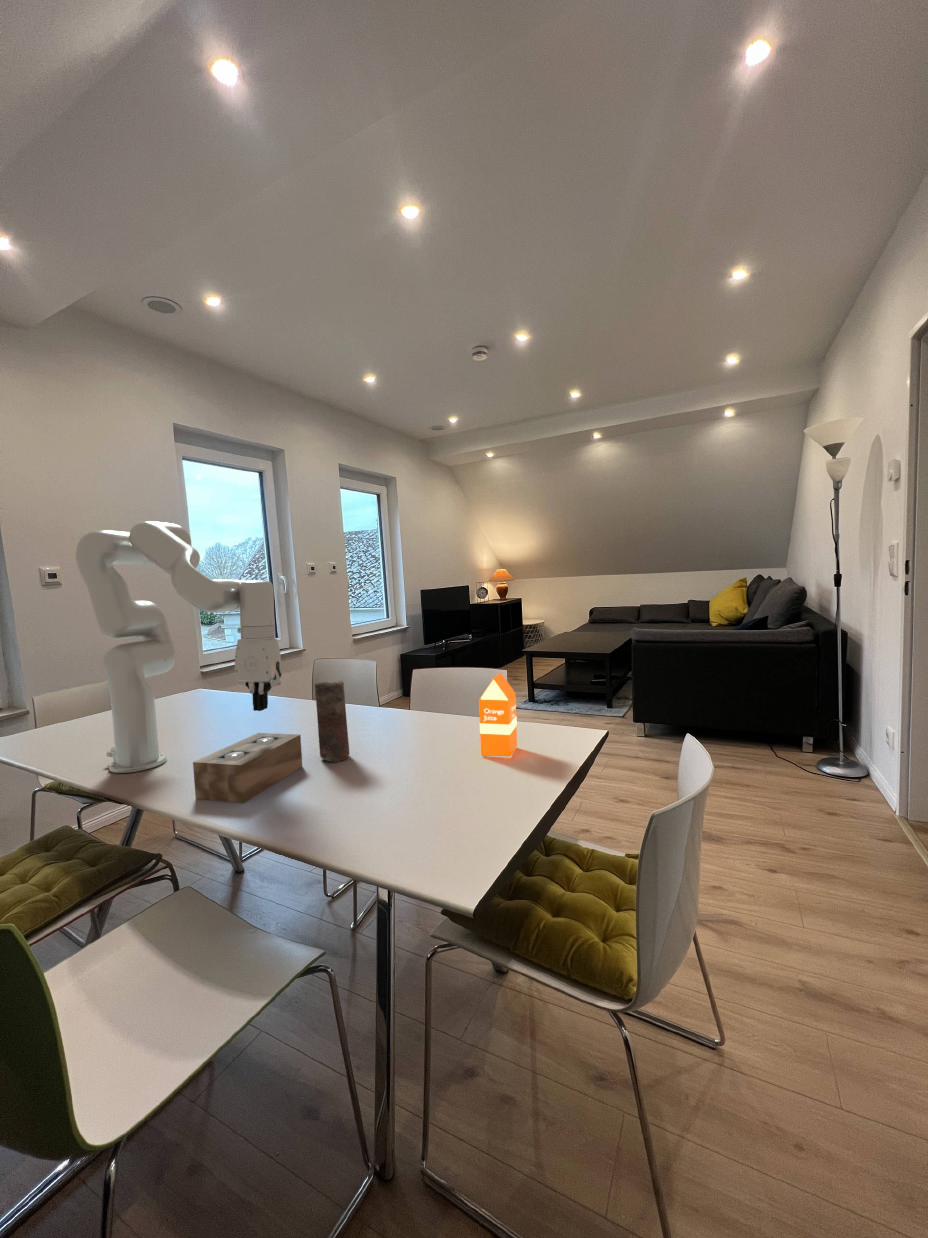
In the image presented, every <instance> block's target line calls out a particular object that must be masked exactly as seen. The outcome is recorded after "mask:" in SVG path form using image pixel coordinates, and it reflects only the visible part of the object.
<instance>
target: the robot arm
mask: <svg viewBox="0 0 928 1238" xmlns="http://www.w3.org/2000/svg"><path fill="white" fill-rule="evenodd" d="M200 556H201V555H200V554H199V550H197V549H196V548H194V547H193V546H192V540H191V536H190V534H189V532H188V531H187V530H186V529H185V528H184V527H182V526H181V525H178V524H175V523H171V522H170V523H169V522H162V521H154V520H153V521H152V520H147V521H140V522H138V523H136V524H134V525H133V526H132V527H131V529H129V531H121V530H120V531H119V530H109V529H108V530H107V529H105V530H104V529H103V530H95V531H89V532H88V533H86V534H84V535H83V536H81V538H80V539H79V541H78V542H77V544H76V548H75V563H76V567H77V569H78V571H79V574H80V576H81V577H82V580H83V581H84V584H85V586H86V588H87V591H88V594H89V599H90V601H91V605H92V608H93V612H94V615H95V618H96V622H97V625H98V627H99V631H100V632H101V634H102V635H103V636H104V637H105V638H106V639H110V640H123V639H132V638H137V639H138V641H133V642H131V641H130V642H126V643H120V644H117V645H114V646H113V647H111V648H109V649H108V650H107V651H106V652H105V654H104V656H103V658H102V669H103V672H104V675H105V678H106V682H107V686H108V691H109V696H110V706H111V707H110V708H111V715H112V716H111V719H112V728H113V730H112V731H113V739H114V747H111V748H110V751H108V752H106V757H108V758H112V760H113V761H112V762H111V763H110V764H109V766H108V768H109V771H110V772H111V773H115V774H129V773H135V772H141V771H145V770H150V769H153V768H156V767H158V766H160V765H162V764H164V763H165V762H166V761H167V755H166V754H165V753H161V752H160V750H159V747H160V746H159V737H158V736H159V735H158V725H157V712H156V711H157V709H156V699H155V693H154V690H153V688H152V686H151V685H150V684H149V682H148V680H147V679H146V678H150V677H153V676H157V675H162V674H165V673H167V672H169V671H170V670H172V668H173V667H174V665H175V662H176V650H175V647H174V642H173V640H172V636H171V633H170V632H171V631H170V629H169V626H168V622H167V620H166V617H165V614H164V612H163V610H162V609H161V607H160V606H159V605H157V604H156V603H154V602H152V601H149V600H134V599H133V598H132V596H131V593H130V590H129V585H128V583H127V581H126V580H125V579H124V577H123V576H122V575H121V573H119V571H117V570H116V569H115V568H114V566H116V565H117V566H119V565H120V566H147V565H152V564H153V565H155V566H156V567H159V568H160V569H161V570H162V571H164V572H165V573H166V574H168V575H169V576H170V582H171V583H172V586H173V588H174V591H176V593H177V594H178V595H179V596H180V597H181V598H182V599H184V600H186V602H188V603H189V604H191V605H192V606H194V607H195V608H196V609H198V610H200V611H203V612H206V613H209V614H210V613H223V612H235V611H239V618H240V619H239V622H240V627H238V628H237V634H240V638H238V639H237V641H236V646H235V655H234V677H235V679H236V680H237V681H238V683H239V684H240V685H241V686H245V687H246V688H247V689H248V690H249V693H250V694H251V695H252V706H253V708H252V709H253V711H255V712H256V711H258V712H261V711H264V710H266V709H268V706H269V705H268V704H269V702H268V701H269V698H268V696H269V695H268V693H270V691H271V690H272V688H274V687H278V686H280V685H281V684H282V682H281V679H282V678H281V677H282V674H283V673H282V667H283V666H282V658H281V650H280V645H279V641H278V638H277V637H276V630H275V629H276V627H275V597H274V595H275V594H274V584H273V583H272V582H271V581H270V580H269V581H268V580H241V579H211V578H209V577H207V575H205V574H203V573H202V572H200V571H198V569H197V568H199V564H200V562H201V557H200Z"/></svg>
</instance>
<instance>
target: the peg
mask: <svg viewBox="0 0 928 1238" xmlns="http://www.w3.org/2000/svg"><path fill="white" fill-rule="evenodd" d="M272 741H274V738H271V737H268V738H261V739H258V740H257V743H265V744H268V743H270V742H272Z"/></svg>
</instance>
